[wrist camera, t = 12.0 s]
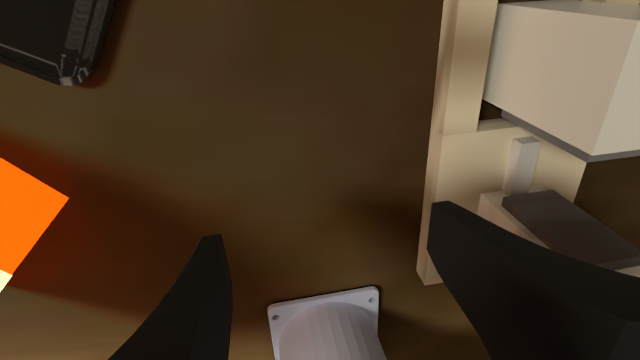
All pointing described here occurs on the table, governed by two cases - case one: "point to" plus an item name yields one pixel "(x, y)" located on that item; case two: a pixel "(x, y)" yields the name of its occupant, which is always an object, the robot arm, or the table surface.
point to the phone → (53, 37)
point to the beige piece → (504, 158)
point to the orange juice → (22, 215)
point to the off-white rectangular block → (569, 74)
